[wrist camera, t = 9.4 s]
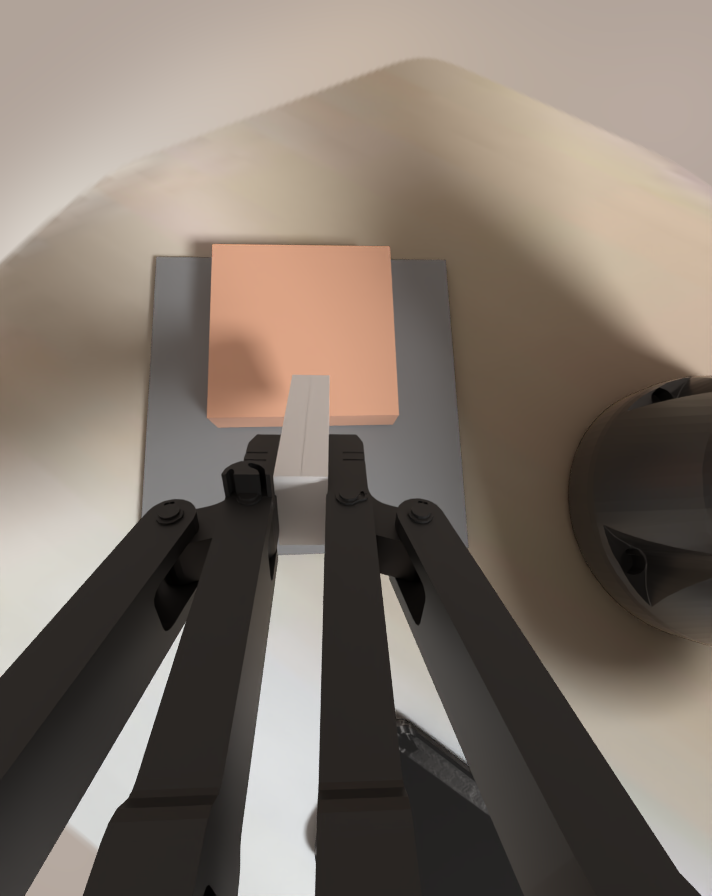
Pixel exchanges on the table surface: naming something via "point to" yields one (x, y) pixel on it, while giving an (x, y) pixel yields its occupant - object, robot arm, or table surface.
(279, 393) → the tile
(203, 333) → the mat
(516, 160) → the table surface
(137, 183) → the table surface
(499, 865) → the phone
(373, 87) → the table surface
